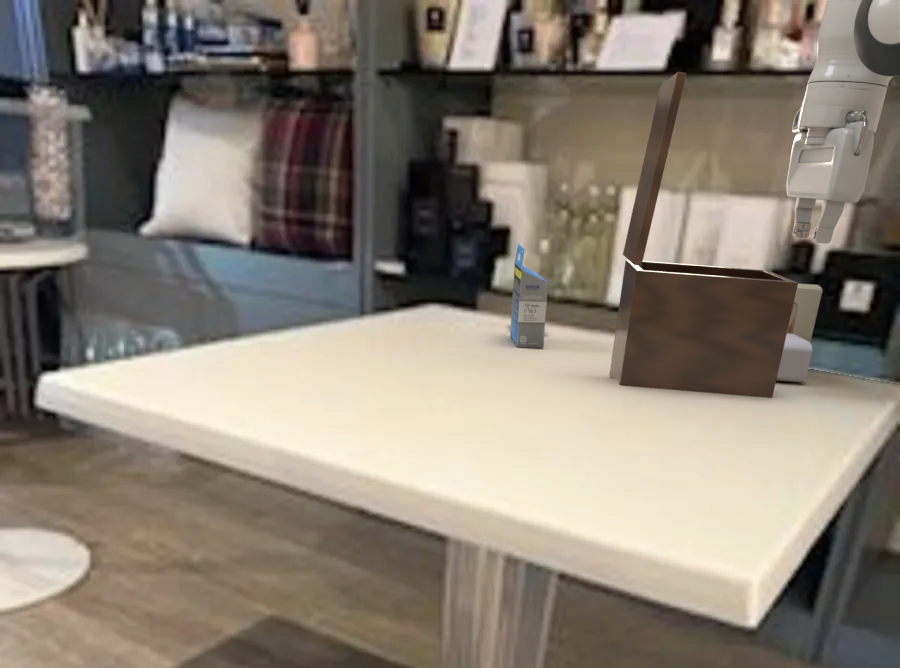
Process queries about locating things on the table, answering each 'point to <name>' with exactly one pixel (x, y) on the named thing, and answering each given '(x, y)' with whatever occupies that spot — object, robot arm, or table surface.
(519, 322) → the label tape box
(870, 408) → the table surface
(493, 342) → the table surface
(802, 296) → the cosmetics bottle
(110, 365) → the table surface
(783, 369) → the charger
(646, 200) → the lid
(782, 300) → the chest
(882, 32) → the robot arm
